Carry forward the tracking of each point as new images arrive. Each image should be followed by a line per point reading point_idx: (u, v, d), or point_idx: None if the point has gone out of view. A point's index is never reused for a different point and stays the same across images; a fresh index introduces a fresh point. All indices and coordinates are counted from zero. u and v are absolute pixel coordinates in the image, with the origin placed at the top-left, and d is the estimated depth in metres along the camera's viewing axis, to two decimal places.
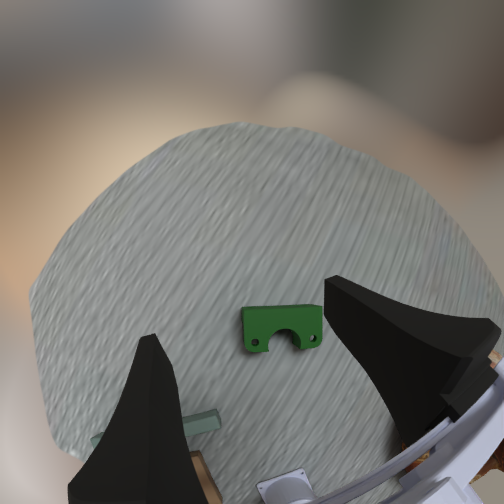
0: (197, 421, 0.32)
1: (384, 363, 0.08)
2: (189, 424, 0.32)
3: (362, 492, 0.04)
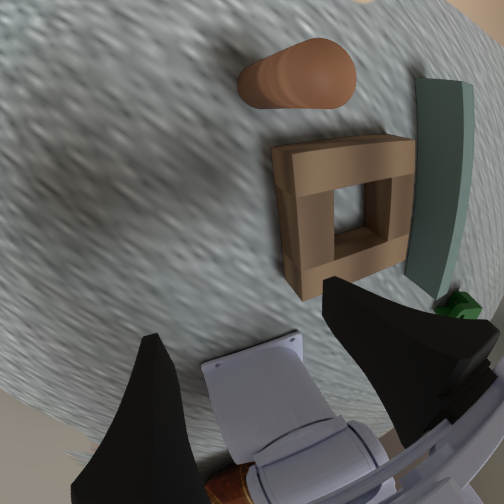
0: (452, 271, 0.22)
1: (382, 364, 0.08)
2: (454, 262, 0.21)
3: (362, 492, 0.04)
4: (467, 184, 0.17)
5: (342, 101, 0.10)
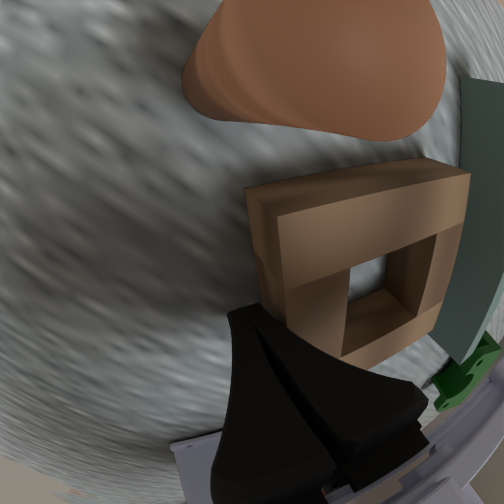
0: (483, 332, 0.15)
1: None
2: (488, 322, 0.15)
3: (362, 492, 0.04)
4: None
5: (418, 118, 0.03)
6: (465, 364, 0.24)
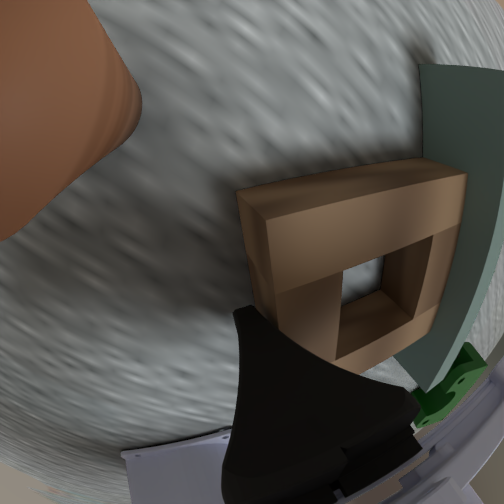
0: (454, 359, 0.14)
1: None
2: (458, 349, 0.14)
3: (362, 492, 0.04)
4: (497, 249, 0.10)
5: (37, 191, 0.02)
6: (445, 382, 0.23)
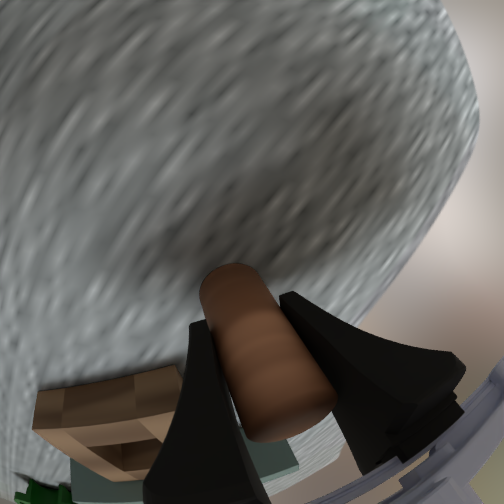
0: None
1: (335, 389, 0.08)
2: None
3: (362, 492, 0.04)
4: None
5: (258, 440, 0.07)
6: None
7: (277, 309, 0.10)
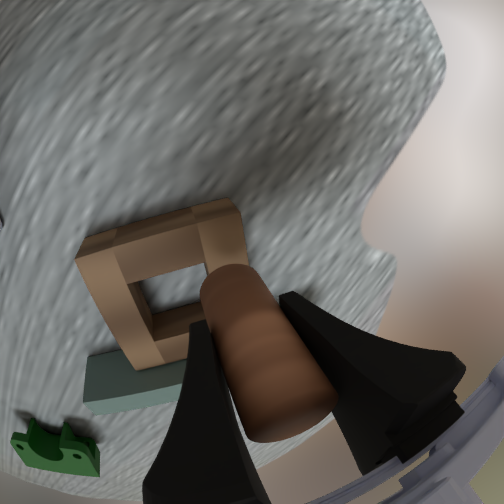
0: (122, 410, 0.18)
1: (335, 389, 0.08)
2: (134, 407, 0.18)
3: (362, 492, 0.04)
4: None
5: (258, 439, 0.07)
6: (67, 442, 0.20)
7: (277, 309, 0.10)
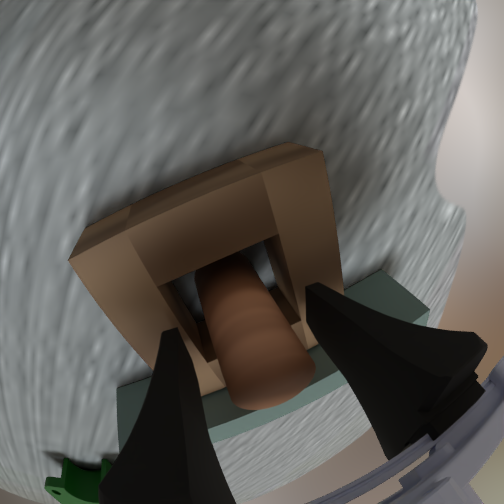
0: None
1: (363, 375, 0.08)
2: None
3: (362, 492, 0.04)
4: (313, 396, 0.14)
5: (242, 405, 0.09)
6: None
7: (262, 288, 0.11)
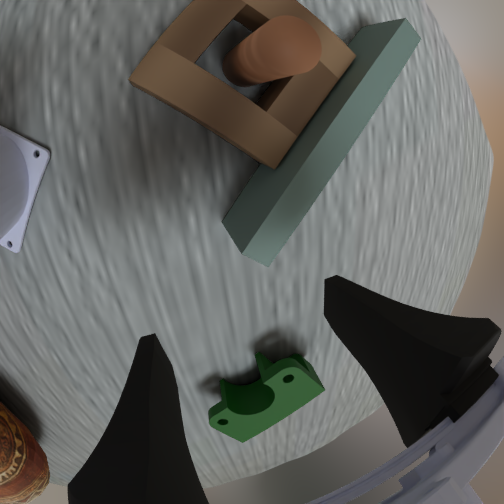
0: (292, 228, 0.16)
1: (384, 363, 0.08)
2: (302, 211, 0.16)
3: (362, 492, 0.04)
4: (367, 105, 0.14)
5: (284, 68, 0.10)
6: (268, 370, 0.24)
7: None
